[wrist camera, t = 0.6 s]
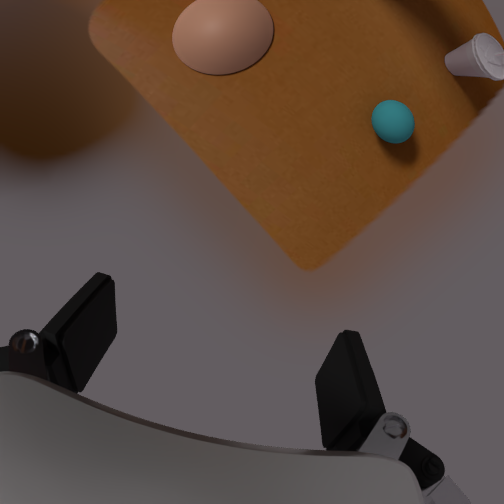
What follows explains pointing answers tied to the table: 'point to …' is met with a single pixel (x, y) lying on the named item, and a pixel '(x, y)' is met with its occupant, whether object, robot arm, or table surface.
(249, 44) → the pink flattened dome
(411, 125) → the ball
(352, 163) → the table surface
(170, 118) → the table surface
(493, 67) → the smoothie
